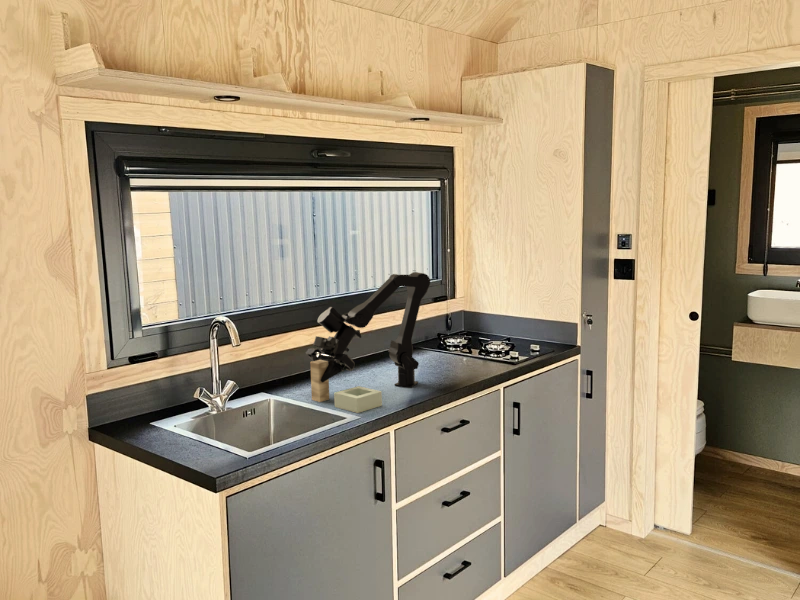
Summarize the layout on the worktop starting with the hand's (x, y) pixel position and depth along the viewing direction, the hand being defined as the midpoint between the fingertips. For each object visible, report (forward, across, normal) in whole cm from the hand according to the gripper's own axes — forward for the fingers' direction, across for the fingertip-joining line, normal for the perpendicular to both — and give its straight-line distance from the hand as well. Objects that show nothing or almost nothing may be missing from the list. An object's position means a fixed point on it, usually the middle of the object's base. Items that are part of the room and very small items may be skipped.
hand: (316, 380), depth 229 cm
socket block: (+2, +15, +7) cm, 17 cm away
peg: (+4, 0, +6) cm, 7 cm away
